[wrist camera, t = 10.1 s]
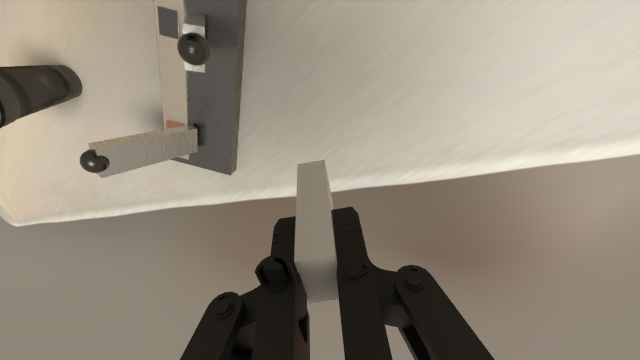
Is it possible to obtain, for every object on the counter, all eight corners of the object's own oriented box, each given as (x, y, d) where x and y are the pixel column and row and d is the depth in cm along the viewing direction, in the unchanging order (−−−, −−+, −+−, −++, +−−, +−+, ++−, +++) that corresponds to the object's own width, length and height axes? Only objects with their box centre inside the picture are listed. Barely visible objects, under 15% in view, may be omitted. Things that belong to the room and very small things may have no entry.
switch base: (247, -9, 33) (238, -11, 30) (235, 169, 45) (228, 177, 42) (164, -29, 33) (149, -33, 31) (175, 153, 45) (165, 160, 43)
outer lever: (199, 129, 39) (82, 154, 28) (199, 153, 40) (90, 183, 30) (187, 123, 40) (71, 144, 30) (188, 146, 41) (79, 173, 31)
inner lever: (209, 15, 33) (211, 30, 22) (209, 49, 34) (211, 77, 24) (184, 10, 32) (174, 23, 21) (185, 45, 33) (177, 72, 23)
